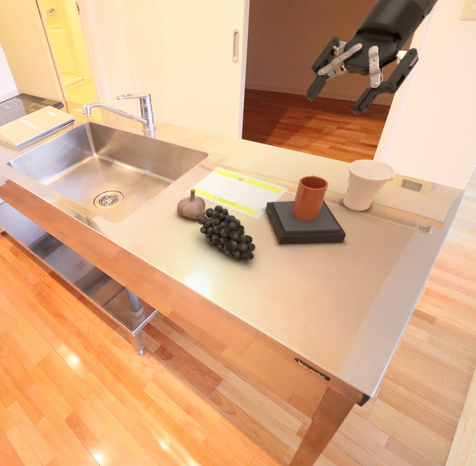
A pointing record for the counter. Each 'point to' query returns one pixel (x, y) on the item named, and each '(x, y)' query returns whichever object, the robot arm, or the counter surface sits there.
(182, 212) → the garlic bulb
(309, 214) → the terracotta cup
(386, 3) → the robot arm
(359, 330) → the counter surface
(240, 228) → the fruit
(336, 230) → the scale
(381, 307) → the counter surface
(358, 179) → the cup
